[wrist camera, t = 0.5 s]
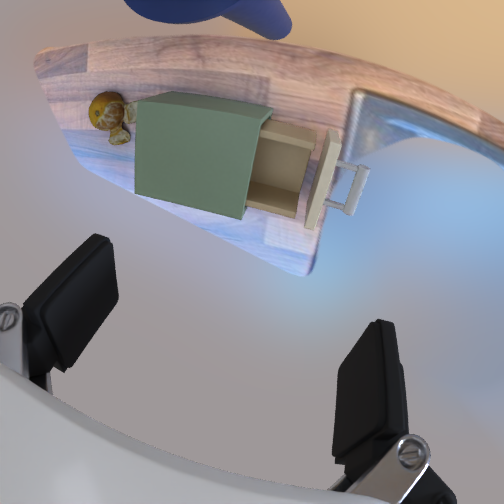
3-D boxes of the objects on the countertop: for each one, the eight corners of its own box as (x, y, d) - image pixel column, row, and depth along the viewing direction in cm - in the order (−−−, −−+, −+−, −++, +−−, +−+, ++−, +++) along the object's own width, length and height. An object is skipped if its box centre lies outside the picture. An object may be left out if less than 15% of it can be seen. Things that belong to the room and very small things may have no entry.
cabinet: (273, 107, 34) (261, 119, 27) (255, 190, 41) (241, 220, 34) (171, 91, 35) (137, 100, 28) (164, 169, 42) (134, 193, 35)
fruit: (123, 150, 41) (109, 158, 38) (88, 119, 39) (73, 125, 36) (151, 107, 37) (137, 112, 34) (112, 76, 34) (96, 79, 32)
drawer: (370, 141, 33) (380, 157, 28) (345, 213, 39) (348, 240, 34) (236, 106, 34) (220, 115, 29) (224, 181, 40) (207, 202, 35)
